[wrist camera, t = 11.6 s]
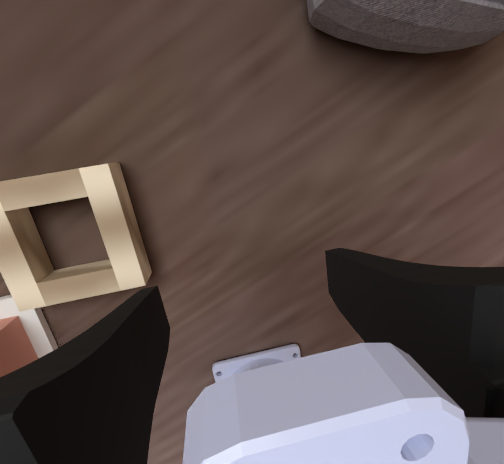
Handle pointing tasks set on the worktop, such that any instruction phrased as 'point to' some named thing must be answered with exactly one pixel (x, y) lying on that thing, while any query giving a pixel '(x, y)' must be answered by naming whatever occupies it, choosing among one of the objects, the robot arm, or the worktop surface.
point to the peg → (14, 346)
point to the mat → (30, 325)
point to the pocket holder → (34, 253)
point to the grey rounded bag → (409, 23)
